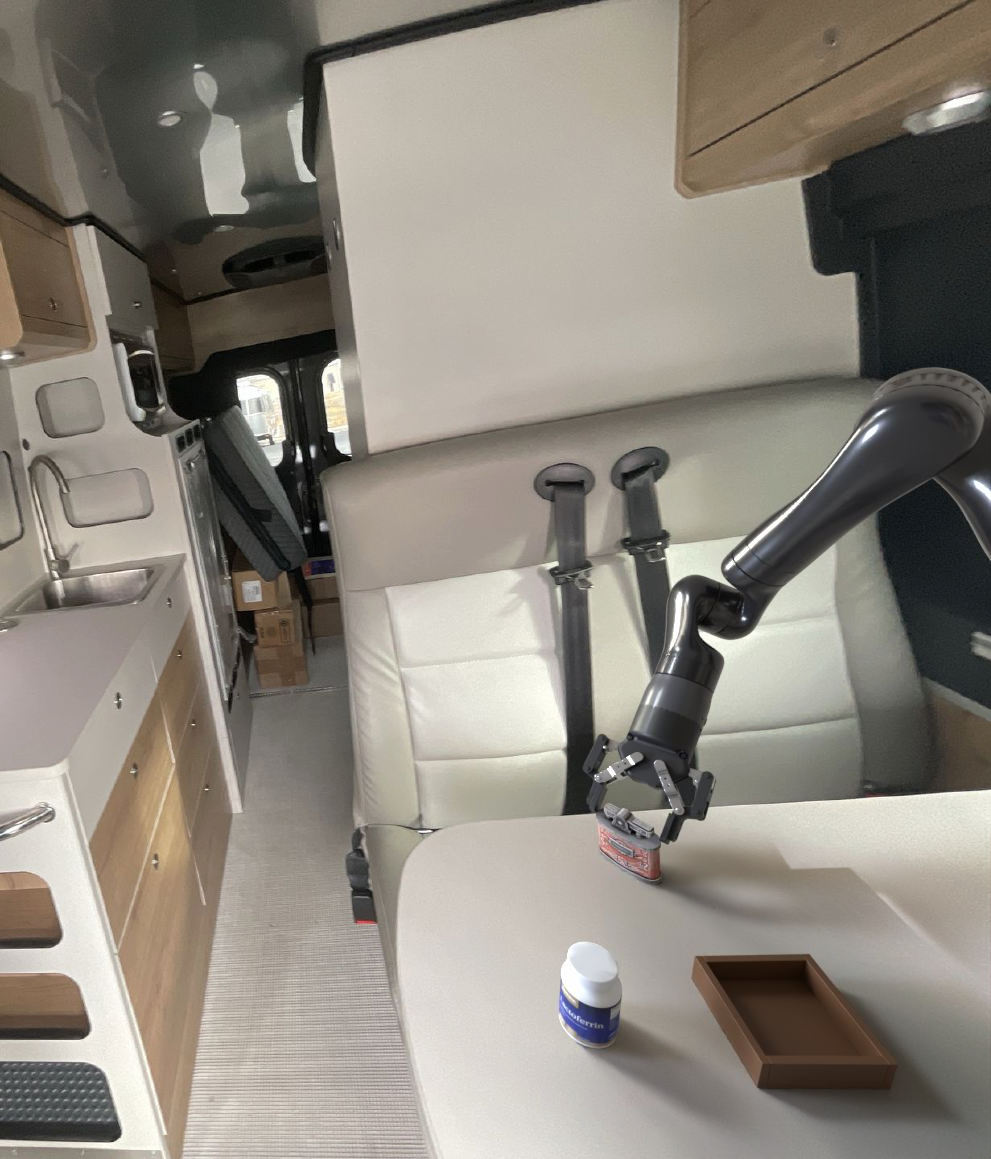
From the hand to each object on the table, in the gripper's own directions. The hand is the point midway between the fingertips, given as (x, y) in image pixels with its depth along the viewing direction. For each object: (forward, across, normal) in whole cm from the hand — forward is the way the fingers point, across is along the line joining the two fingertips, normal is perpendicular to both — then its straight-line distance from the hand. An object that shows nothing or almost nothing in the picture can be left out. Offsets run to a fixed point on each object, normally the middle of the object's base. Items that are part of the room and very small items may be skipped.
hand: (627, 826), depth 87 cm
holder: (+13, +20, -2) cm, 24 cm away
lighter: (+4, 0, +7) cm, 8 cm away
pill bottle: (+23, +6, -11) cm, 26 cm away
